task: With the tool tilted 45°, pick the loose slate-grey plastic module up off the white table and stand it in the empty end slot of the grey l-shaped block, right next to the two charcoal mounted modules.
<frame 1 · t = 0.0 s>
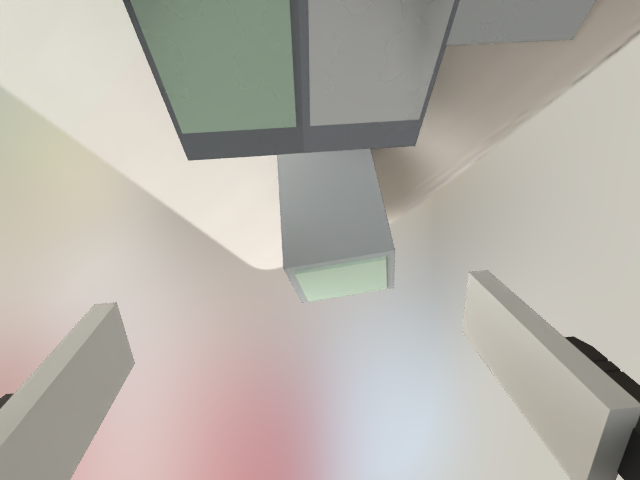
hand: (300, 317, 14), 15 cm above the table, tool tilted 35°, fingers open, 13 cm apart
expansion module: (323, 146, 27), on the table
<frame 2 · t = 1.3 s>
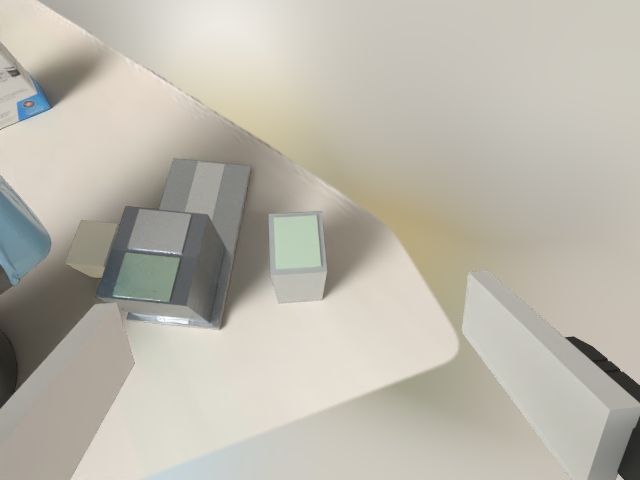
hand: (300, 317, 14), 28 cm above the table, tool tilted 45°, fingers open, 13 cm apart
grey l-shaped block: (196, 238, 45), on the table
terminal block: (114, 258, 44), on the table
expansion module: (298, 277, 43), on the table
ink box: (16, 110, 51), on the table
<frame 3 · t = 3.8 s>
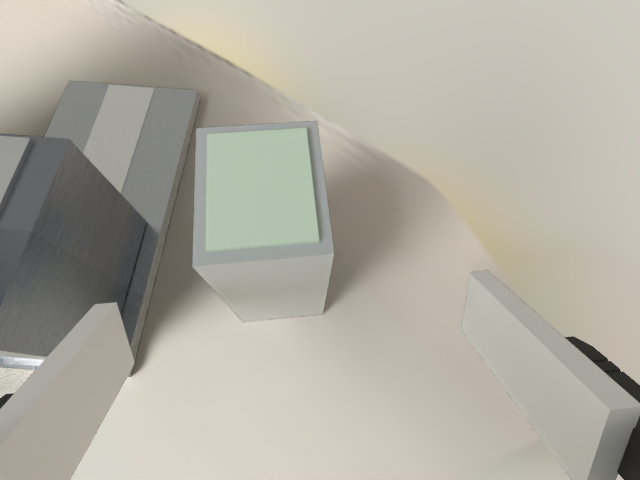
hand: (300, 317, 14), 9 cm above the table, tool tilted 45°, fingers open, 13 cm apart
grey l-shaped block: (99, 210, 26), on the table
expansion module: (280, 273, 24), on the table
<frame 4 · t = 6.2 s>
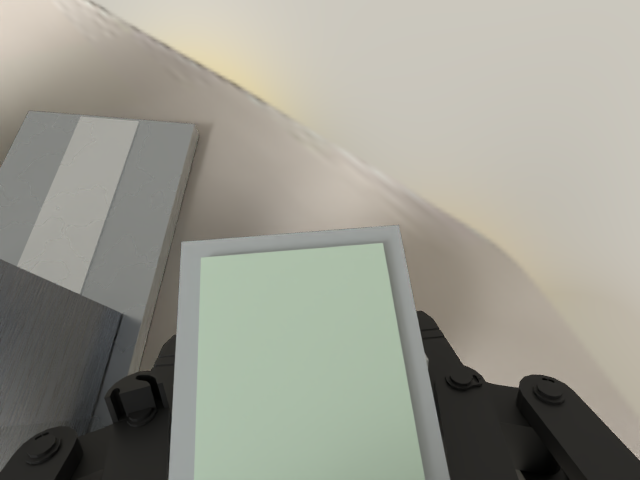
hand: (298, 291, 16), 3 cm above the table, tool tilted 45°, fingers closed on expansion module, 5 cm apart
grey l-shaped block: (59, 291, 19), on the table
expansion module: (306, 386, 17), on the table, touching gripper
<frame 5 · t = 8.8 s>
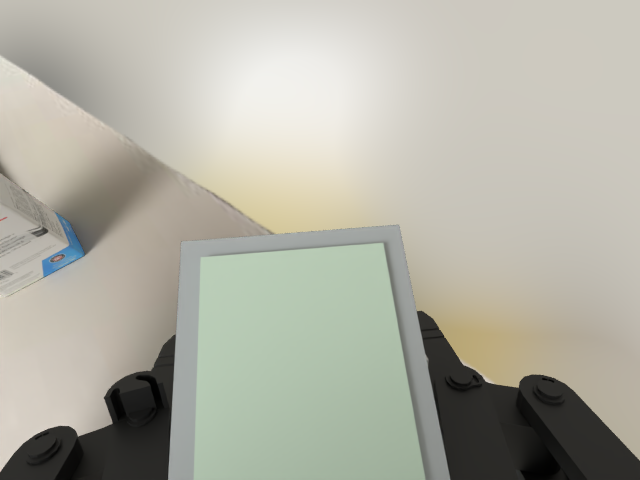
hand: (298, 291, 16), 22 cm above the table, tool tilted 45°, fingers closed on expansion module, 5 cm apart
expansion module: (306, 386, 17), point 18 cm above the table, touching gripper
ink box: (39, 259, 39), on the table
when the fingers open (6 cm above the table, at t = 11.4 s): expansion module drops 1 cm, resting on grey l-shaped block.
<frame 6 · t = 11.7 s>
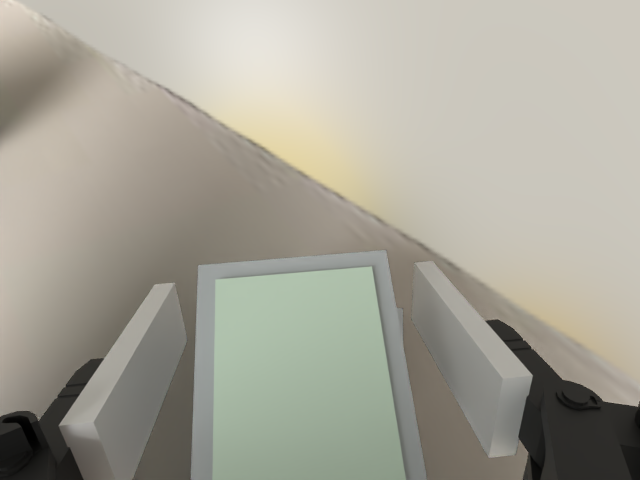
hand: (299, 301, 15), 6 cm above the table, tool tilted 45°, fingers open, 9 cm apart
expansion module: (305, 387, 19), point 1 cm above the table, touching grey l-shaped block
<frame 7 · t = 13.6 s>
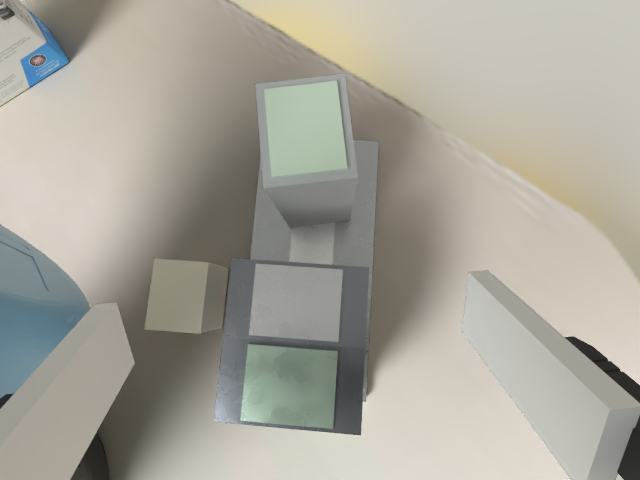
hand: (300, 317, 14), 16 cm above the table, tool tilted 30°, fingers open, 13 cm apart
grey l-shaped block: (311, 261, 31), on the table
terminal block: (202, 295, 31), on the table
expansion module: (315, 189, 31), point 1 cm above the table, touching grey l-shaped block
ink box: (22, 69, 35), on the table
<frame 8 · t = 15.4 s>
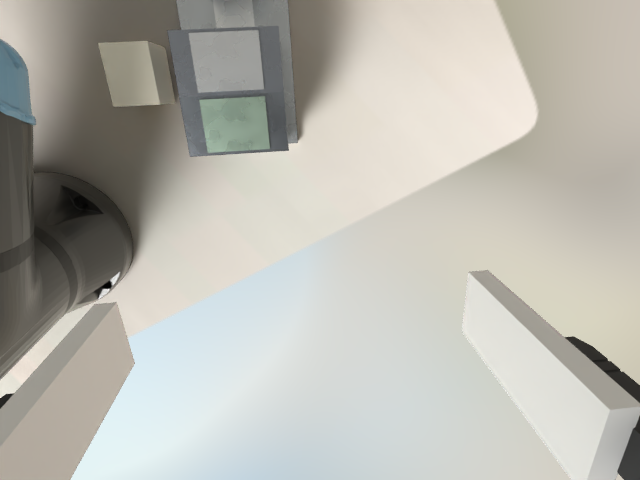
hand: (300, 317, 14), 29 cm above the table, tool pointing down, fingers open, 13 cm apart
grey l-shaped block: (237, 32, 35), on the table
terminal block: (149, 77, 36), on the table
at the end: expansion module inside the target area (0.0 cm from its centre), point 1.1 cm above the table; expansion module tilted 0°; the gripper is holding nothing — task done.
